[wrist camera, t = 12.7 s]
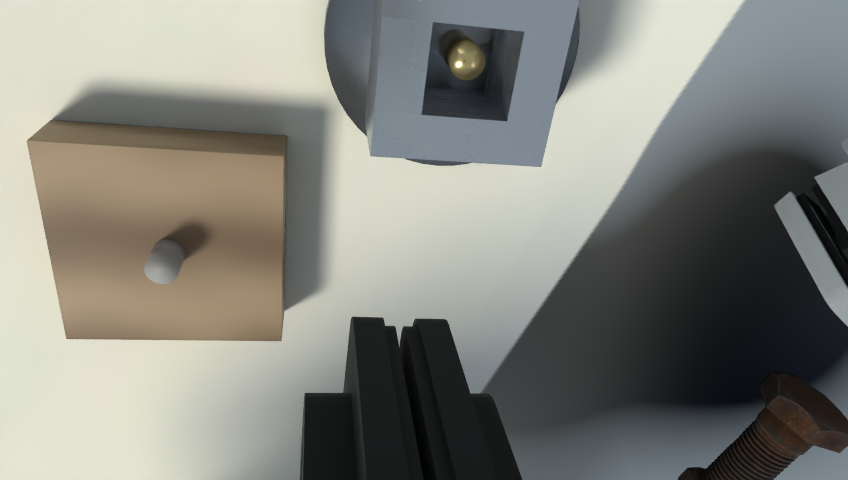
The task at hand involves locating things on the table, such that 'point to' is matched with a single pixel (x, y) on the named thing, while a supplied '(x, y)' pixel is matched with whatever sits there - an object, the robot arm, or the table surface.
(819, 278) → the hinge
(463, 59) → the hub
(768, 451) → the bolt
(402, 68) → the square hollow frame
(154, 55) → the table surface
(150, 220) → the stand
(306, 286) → the table surface
